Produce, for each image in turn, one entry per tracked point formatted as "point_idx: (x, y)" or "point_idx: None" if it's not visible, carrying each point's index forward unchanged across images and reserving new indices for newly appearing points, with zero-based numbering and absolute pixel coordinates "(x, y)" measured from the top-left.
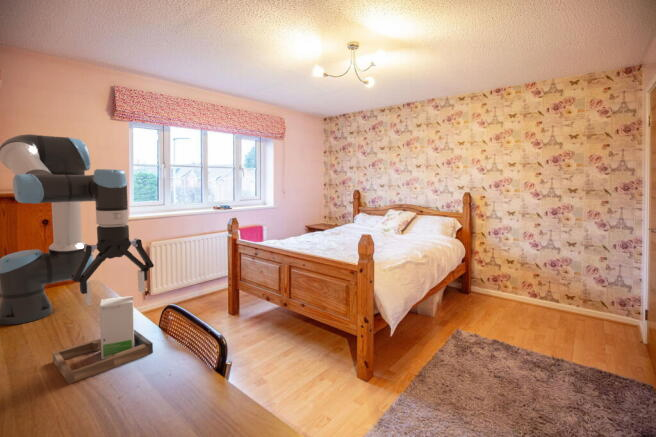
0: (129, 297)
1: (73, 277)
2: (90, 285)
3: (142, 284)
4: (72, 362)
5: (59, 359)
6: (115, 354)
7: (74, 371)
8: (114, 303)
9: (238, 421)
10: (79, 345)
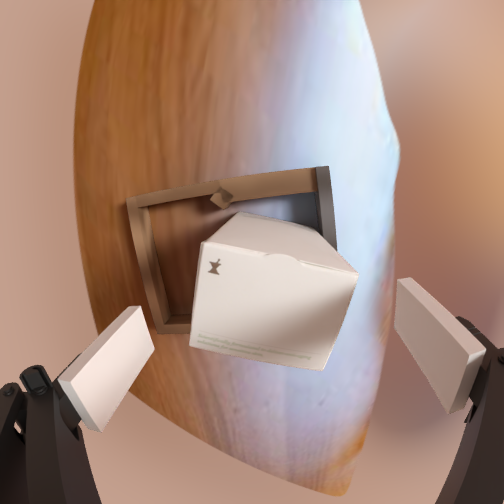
0: (336, 298)
1: (21, 432)
2: (110, 417)
3: (416, 356)
4: (170, 231)
5: (138, 249)
6: None
7: (167, 330)
8: (249, 351)
9: (325, 486)
10: (179, 193)
